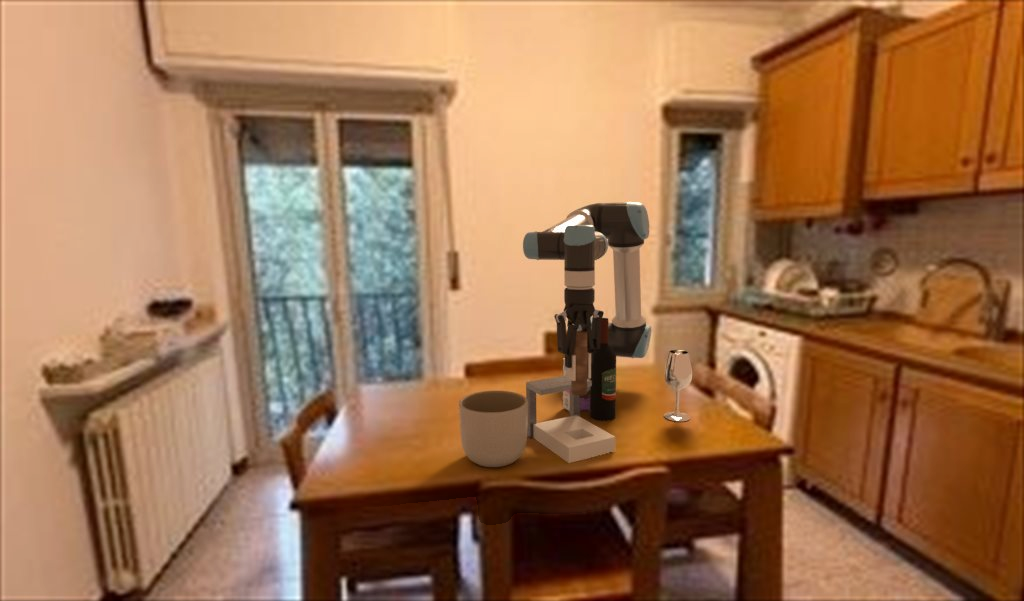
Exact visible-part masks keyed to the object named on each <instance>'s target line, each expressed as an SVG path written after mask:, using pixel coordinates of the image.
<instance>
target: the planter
mask: <svg viewBox="0 0 1024 601" xmlns="http://www.w3.org/2000/svg"><path fill="white" fill-rule="evenodd" d="M458 413H459V414H458V415H459V428H460V429H459V431H460V440H461V447H462V450H463V452H464V454H465V456H466V457H467V458H468V459H469V460H470V461H471V462H473V463H474V464H476V465H479V466H481V467H485V468H500V467H505V466H509V465H511V464H513V463H514V462H516V461H517V460H519V459H520V458H521V457H522V455H523V453H524V452H525V449H526V446H527V439H528V437H527V426H528V400H527V398H526V396H524V395H523V394H521V393H518V392H514V391H508V390H483V391H477V392H473V393H470V394H467V395H464V396H463V397H462V398H460V399H459V401H458Z"/></svg>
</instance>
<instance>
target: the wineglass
mask: <svg viewBox="0 0 1024 601" xmlns="http://www.w3.org/2000/svg"><path fill="white" fill-rule="evenodd" d="M667 354H668V355H667V358H666V362H665V368H664V380H665V382H666V383H667V385H668V386H669V387H670V388H672V389H673V390H675V395H676V397H675V398H676V399H675V411H668V412H665V413H664V414H663V417H664V418H665V419H666V420H668V421H672V422H687V421H689V420H690V419H691V416H690V415H689V414H688V413H685V412H681V411H680V410H679V409H680V408H679V407H680V406H679V405H680V404H679V401H680V391H681V390H684V389H685V388H687V387H689V385H690V384H691V382H692V378H693V370H692V369H693V368H692V364H691V357H690V353H689V351H687V350H683V349H671V350H668V353H667Z"/></svg>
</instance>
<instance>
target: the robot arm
mask: <svg viewBox="0 0 1024 601" xmlns="http://www.w3.org/2000/svg"><path fill="white" fill-rule="evenodd" d="M649 237H650V219H649V214H648V210H647V208H646V206H645V205H644V203H641V202H632V201H620V202H598V203H597V202H596V203H592V204H588V205H585V206H582V207H580V208H577V209H575V210H573V211H572V212H570V213H569V214H567V216H566V218H565V219H563V220H561V221H560V222H558V223H556V224H554V225H552V226H550V227H549V228H547V229H545V230H543V231H532V232H531V231H530V232H529V231H528V232H527V233H526V234H525V235H524V237H523V240H522V251H523V252H522V253H523V254H524V256H525V258H526V259H528V260H537V261H539V260H541V261H543V260H545V261H548V260H550V261H552V260H553V261H559V260H560V261H563V262H564V267H563V268H564V272H563V273H564V286H565V288H564V290H563V292H564V293H563V294H564V295H563V298H564V305H565V306H564V308H563V311H562V312H560V313H559V314H558V313H555V314H554V320H555V322H556V341H557V352H558V353H561V354H563V355H564V358H565V367H567V379H570V380H572V381H576V355H573V350H574V344H575V339H576V333H577V330H583V331H587V378H591V364H593V353H596V349H600V343H601V320H602V318H604V317H603V316H604V314H605V313H604V311H603V310H599V309H596V307H595V305H594V303H595V300H596V299H595V298H596V297H595V296H596V295H595V293H596V292H595V288H594V286H595V284H596V276H595V275H596V271H595V270H596V268H595V264H596V263H595V261H597V260H600V259H601V258H602V257H604V256H605V254H607V252H608V248H610V249H611V250H612V256H613V260H612V261H613V279H614V280H613V281H614V282H613V283H614V284H613V286H614V302H615V303H614V305H615V306H614V307H615V316H614V317H613V318H612V319H611V322H609V324H608V344H609V347H611V348H612V349H613V350H614V352H615V353H616V357H617V358H618V357H620V358H629V359H642V358H643V359H644V357H646V356H647V354H648V350H649V348H650V342H651V338H652V337H651V336H652V326H651V325H649V324H647V319H646V317H644V316H643V315H642V299H641V296H642V295H641V293H642V291H641V264H640V263H641V255H640V253H641V252H640V251H641V250H640V249H641V247H643V246H644V244H645V240H646V239H648V238H649ZM566 321H567V324H566Z"/></svg>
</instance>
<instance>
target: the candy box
mask: <svg viewBox="0 0 1024 601" xmlns="http://www.w3.org/2000/svg"><path fill="white" fill-rule="evenodd" d="M565 375H567V367H565V357H563V358H562V376H565ZM587 379H589V380H590V378H587ZM562 409H564V410H565V411H566V412H568V413H570V390H568V391H562ZM584 412H590V387H587V394H585V395H580V397H579V413H584Z"/></svg>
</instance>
